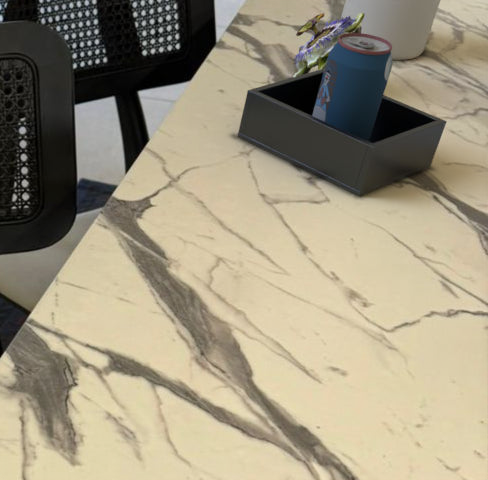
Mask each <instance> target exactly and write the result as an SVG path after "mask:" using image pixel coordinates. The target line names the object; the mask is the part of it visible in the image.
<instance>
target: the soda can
mask: <svg viewBox="0 0 488 480" xmlns="http://www.w3.org/2000/svg"><path fill="white" fill-rule="evenodd" d="M391 50H392V45H391V43H390V42H388V41H387V40H385V39H383V38H380V37H377V36H373V35H369V34H362V33H347V34H343V35H341V36H340V37H339V39H338V42H337V43H336V45H335V46H334V47H333V48H332V49H331V51H330V52H329V55H328V59H327V62H326V66H325V70H324V73H323V77H322V81H321V84H320V88H319V92H318V95H317V99H316V103H315V106H314V110H313V113H312V116H313V117H315V118H317V119H320V120H322V121H324V122H326V123H329V124H331V125H333V126H335V127H337V128H340V129H342V130H344V131H346V132H348V133H351V134H353V135H355V136H357V137H359V138H362V139H364V140H366V141H368V142H369V139H370V136H371V133H372V130H373V126H374V123H375V120H376V117H377V114H378V110H379V107H380V104H381V101H382V97H383V95H385V91H386V88H387V84H388V81H389V78H390V75H391V72H392V68H393V66H394V62H393V61H394V60H392V55H391Z"/></svg>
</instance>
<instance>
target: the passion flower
mask: <svg viewBox="0 0 488 480" xmlns="http://www.w3.org/2000/svg"><path fill="white" fill-rule="evenodd" d="M364 15H365V14H364V13H359V14H358V15H357V17H356V18H354V19H351V18H350V16H349V17H345V19H343V17H342V18H341V17H340V19H339V18H337V19H336V20H332V21H331V22H329V23H328V22H326V24H325V26H324V27H323V28H322V29H321V31H320V30H318V28H317V26H316V25H317V24H318V23H319V21H320V20H321V19H322V18H324V17H325V13H324V12H322V13H319V14H317V15H315V16H314V17H312V18H311V19H310V18H309V19H308V20H307V22H306V23H305V24H303V25H302V26H301V27H300V28H299V29H298V31H297V32H296V34H295V36H296V37H300V36H301V35H303V34H304V33H306V32H308V31H310V30H311V31H313V34H312V36H311V38H310V39H309V40H308V41H306V42H305V43H304V45H301V46H299V49H298V53H297V54H295V57H294V59H293V61H294V65H295V68H296V69H297V72H295V73H294V75H293V76H292V78H293V77H296V76H300V75H303V74H307V73H310V72H311V70H312V68H315V67H318V68H317V70H321V69H322V70H325V66H326V62H327V59H328V55H329V52H330V51H331V49H332V48H333V47H334V46H335V45H336V43H337V42H338V39H339V37H340V36H341V35H343V34H347V33H361V28H362V27H361V21H362V20H363V18H364ZM353 31H355V32H353Z"/></svg>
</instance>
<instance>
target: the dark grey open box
mask: <svg viewBox="0 0 488 480" xmlns="http://www.w3.org/2000/svg"><path fill="white" fill-rule="evenodd" d="M323 73H324V70H322V69H321V70H318V69H317V70H313V71H309V72H308V73H307V74H303V75H300V76H296V77H293V76H292V77H289V78H286V79H283V80H278V81H277V82H276V81H275V82H271V83H269V84H265V85H262V86H258V87H255V88H252V89H251V88H250V89H247V93H246V97H245V100H244V101H245V102H244V106H243V110H242V114H241V119H240V123H239V128H238V133H237V138H238V139H240V140H242V141H244V142H246V143H248V144H250V145H252V146H254V147H256V148H258V149H260V150H263V151H264V152H267V153H269V154H271V155H273V156H274V157H277V158H279V159H281V160H283V161H285V162H287V163H289V164H291V165H292V166H295V167H297V168H299V169H301V170H303V171H305V172H307V173H309V174H311V175H313V176H316V177H317V178H319V179H321V180H324V181H325V182H328V183H329V184H332V185H333V186H336V187H338V188H340V189H342V190H344V191H346V192H348V193H350V194H353V195H354V196H356V197H358V198H359V197H363V196H365V195H367V194H368V193H369V194H370V193H372V192H374V191H377V190H379V189H382V188H385V187H386V186H389V185H392V184H395V183H397V182H400V181H402V180H404V179H407V178H409V177H412V176H415V175H417V174H419V173H422V172H425V171H427V170H429V169H430V168H431V166H432V164H433V161H434V157H435V155H436V152H437V150H438V147H439V144H440V142H441V138H442V135H443V132H444V130H445V127H446V125H447V121H446V120H444V119H442V118H440V117H437V116H435V115H433V114H430V113H428V112H425V111H424V110H420V109H418V108H416V107H413V106H411V105H409V104H406V103H404V102H402V101H399V100H396V99H394V98H392V97H390V96H387V95H385V94H383V97H382V101H381V104H380V107H379V110H378V114H377V117H376V120H375V123H374V126H373V130H372V133H371V136H370V139H369V142H368V141H366V140H364V139H362V138H359V137H357V136H355V135H353V134H351V133H348V132H346V131H344V130H342V129H340V128H337V127H335V126H333V125H331V124H329V123H326V122H324V121H322V120H320V119H317V118H315V117H313V116H312V113H313V110H314V106H315V103H316V99H317V95H318V92H319V88H320V84H321V81H322V77H323Z"/></svg>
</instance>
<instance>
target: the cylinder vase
mask: <svg viewBox="0 0 488 480" xmlns="http://www.w3.org/2000/svg"><path fill="white" fill-rule="evenodd" d="M440 3H441V0H345V2H344V6H343V9H342V13H341V17H340V19H341V18H342V17H343V19H345V17H349V16H350V18H351V19H354V18H356V17H357V15H358V14H359V13H364V14H365V15H364V18H363V20H362V21H361V27H362V28H361V33H362V34H369V35H373V36H377V37H380V38H383V39H385V40H387V41H388V42H390V43H391V45H392V50H391V55H392V61H405V60H412V59H415V58H417V57H419V56H420V55H421V54H422V53H423V52H424V51H425V48H426V46H427V43H428V39H429V35H430V33H431V30H432V28H433V24H434V21H435V19H436V15H437V12H438V10H439V6H440ZM353 32H355V31H353Z"/></svg>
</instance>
